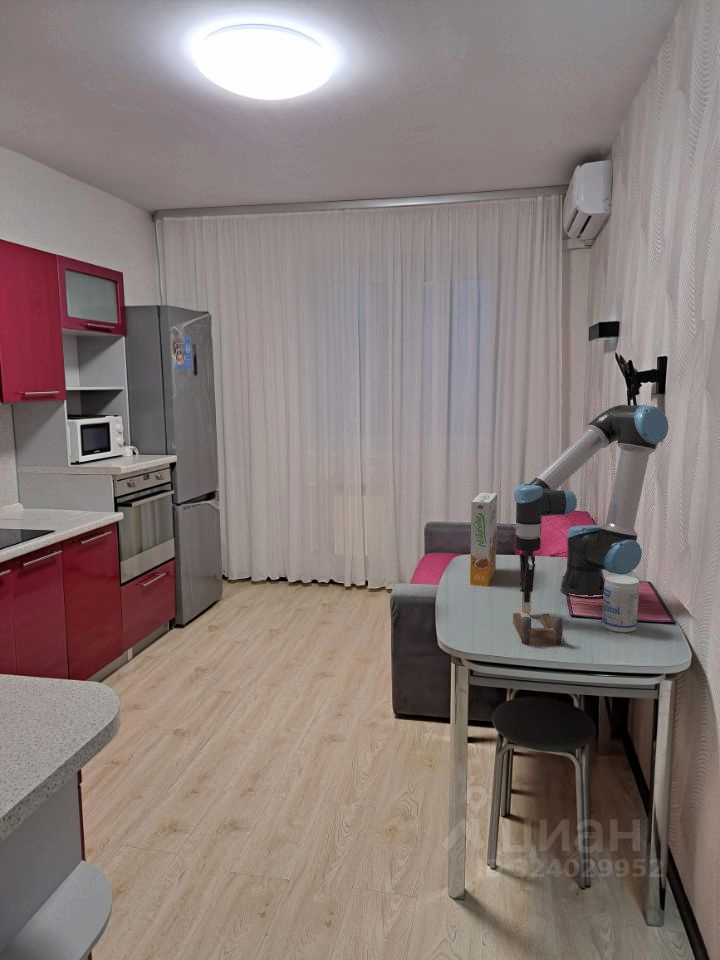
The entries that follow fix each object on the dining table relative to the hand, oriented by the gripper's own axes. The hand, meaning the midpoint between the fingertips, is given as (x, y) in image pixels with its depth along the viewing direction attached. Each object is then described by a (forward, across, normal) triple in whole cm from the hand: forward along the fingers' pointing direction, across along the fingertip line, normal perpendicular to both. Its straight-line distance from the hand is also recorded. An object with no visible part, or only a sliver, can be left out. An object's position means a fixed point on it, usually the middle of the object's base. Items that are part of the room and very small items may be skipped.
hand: (525, 611), depth 214 cm
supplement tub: (+1, +10, +25) cm, 27 cm away
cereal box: (+2, -44, -8) cm, 44 cm away
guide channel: (+1, +15, 0) cm, 15 cm away
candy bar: (+2, +9, -1) cm, 9 cm away
